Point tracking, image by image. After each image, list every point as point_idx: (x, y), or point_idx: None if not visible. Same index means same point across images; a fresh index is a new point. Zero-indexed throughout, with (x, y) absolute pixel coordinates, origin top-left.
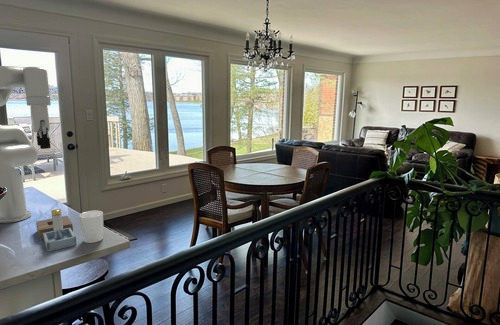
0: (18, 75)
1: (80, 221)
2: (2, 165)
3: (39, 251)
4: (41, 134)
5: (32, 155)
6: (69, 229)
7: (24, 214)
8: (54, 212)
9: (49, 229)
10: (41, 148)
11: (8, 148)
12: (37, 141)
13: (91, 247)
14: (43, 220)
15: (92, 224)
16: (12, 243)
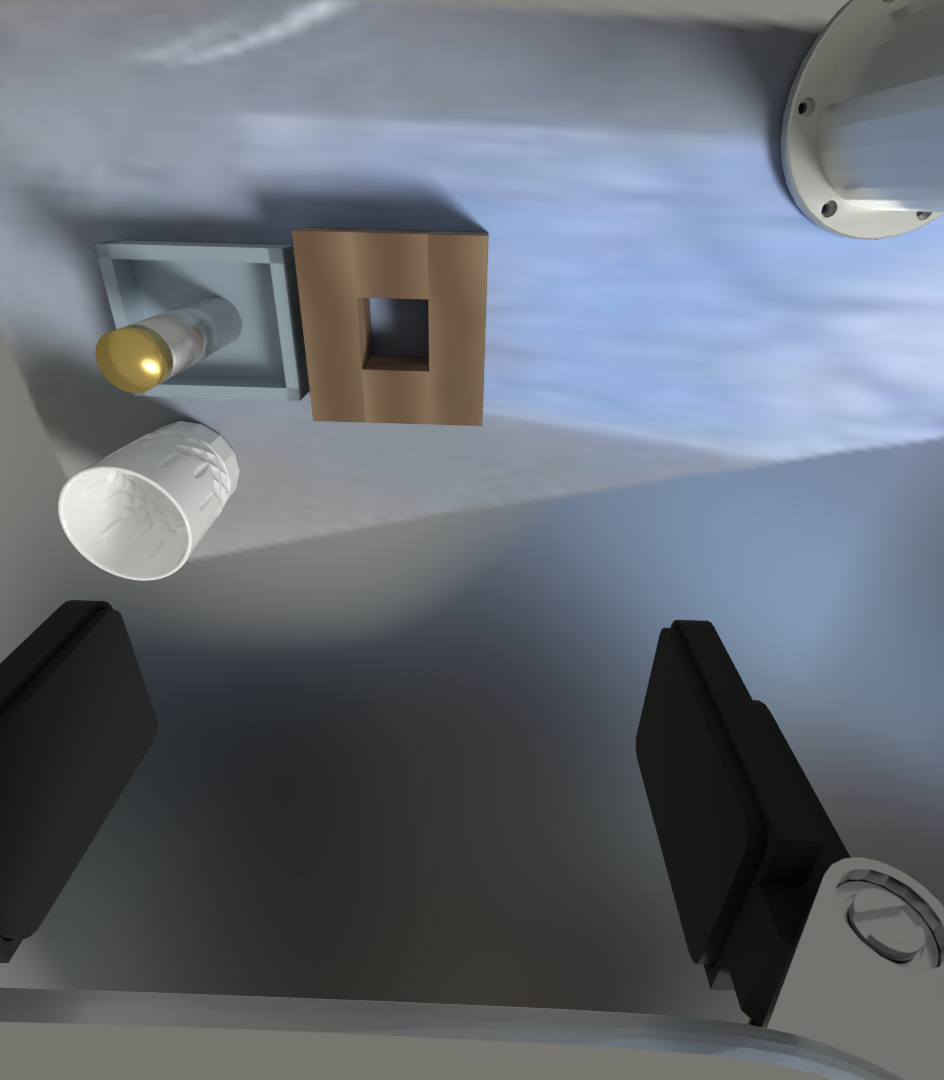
0: None
1: (117, 455)
2: None
3: (144, 199)
4: (752, 957)
5: None
6: (268, 391)
7: (834, 186)
8: (97, 345)
9: (300, 292)
10: (73, 611)
11: None
12: (711, 687)
13: (97, 432)
14: (476, 283)
15: (87, 496)
16: (350, 56)
